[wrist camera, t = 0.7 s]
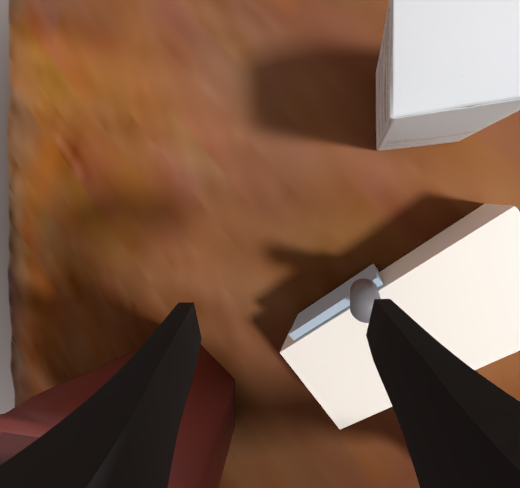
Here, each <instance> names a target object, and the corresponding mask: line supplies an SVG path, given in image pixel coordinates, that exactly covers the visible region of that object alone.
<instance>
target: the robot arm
mask: <svg viewBox="0 0 520 488" xmlns="http://www.w3.org/2000/svg"><path fill="white" fill-rule="evenodd" d="M366 337H367V340H368V344H369V348H370V351H371V355H372V358H373V361H374V363H375V366H376V368H377V371H378V373H379V376H380V378H381V380H382V383H383V385H384V387H385V390H386V392H387V395H388V397H389V399H390V402H391V404H392V406H393V409H394V411H395V413H396V416H397V418H398V421H399V423H400V426H401V429H402V431H403V434H404V437H405V440H406V443H407V446H408V450H409V453H410V456H411V459H412V462H413V465H414V468H415V472H416V475H417V478H418V482H419V485H420V488H520V402H519V401H518V400H516V399H515V398H513V397H512V396H510V395H509V394H507V393H506V392H504V391H503V390H501V389H500V388H499V387H497V386H496V385H494V384H493V383H491V382H490V381H489V380H487V379H486V378H484V377H483V376H482V375H480V374H479V373H477V372H476V371H475V370H473V369H472V368H471V367H469V366H468V365H467V364H466V363H464V362H463V361H462V360H460V359H459V358H458V357H457V356H455V355H454V354H453V353H452V352H450V351H449V350H448V349H447V348H445V347H444V346H443V345H442V344H441V343H439V342H438V341H437V340H436V339H435V338H434V337H432V336H431V335H430V334H429V333H428V332H427V331H425V330H424V329H423V328H422V327H421V326H420V325H419V324H418V323H416V322H415V321H414V320H413V319H412V318H411V317H410V316H409V315H408V314H406V313H405V312H404V311H403V310H402V309H401V308H400V307H399V306H398V305H397V304H395V303H394V302H393V301H392V300H391V299H374V303H373V307H372V312H371V316H370V320H369V325H368V329H367V333H366ZM200 343H201V334H200V329H199V325H198V320H197V315H196V311H195V306H194V303H178V304H177V305H176V306H175V308H174V309H173V310H172V311H171V312H170V314H169V315H168V316H167V317H166V319H165V320H164V321H163V322H162V323H161V325H160V326H159V327H158V328H157V329H156V331H155V332H154V333H153V334H152V335H151V336H150V338H149V339H148V340H147V341H146V342H145V343H144V344H143V346H142V347H141V348H140V349H139V350H138V351H137V352H136V353H135V354H134V355H133V356H132V357H131V358H130V359H129V360H128V361H127V363H126V364H125V365H124V366H123V367H122V368H121V369H120V370H119V371H118V372H117V373H116V374H115V375H114V376H113V377H111V378H110V379H109V380H108V381H107V382H106V383H105V384H104V385H103V386H102V387H101V388H100V389H99V390H97V391H96V392H95V393H94V394H93V395H92V396H91V397H89V398H88V399H87V400H86V401H85V402H84V403H82V404H81V405H80V406H79V407H78V408H76V409H75V410H74V411H73V412H72V413H70V414H69V415H68V416H67V417H65V418H64V419H63V420H62V421H60V422H59V423H58V424H57V425H55V426H54V427H53V428H51V429H50V430H49V431H47V432H46V433H45V434H43V435H42V436H41V437H39V438H38V439H37V440H35V441H34V442H33V443H31V444H30V445H28V446H27V447H26V448H24V449H23V450H22V451H20V452H19V453H17V454H16V455H14V456H13V457H12V458H10V459H9V460H7V461H6V462H4V463H3V464H1V465H0V488H168V483H169V477H170V471H171V466H172V460H173V455H174V450H175V445H176V440H177V434H178V430H179V426H180V422H181V418H182V415H183V411H184V408H185V404H186V401H187V397H188V394H189V390H190V387H191V383H192V380H193V376H194V372H195V369H196V365H197V361H198V355H199V349H200Z"/></svg>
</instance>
